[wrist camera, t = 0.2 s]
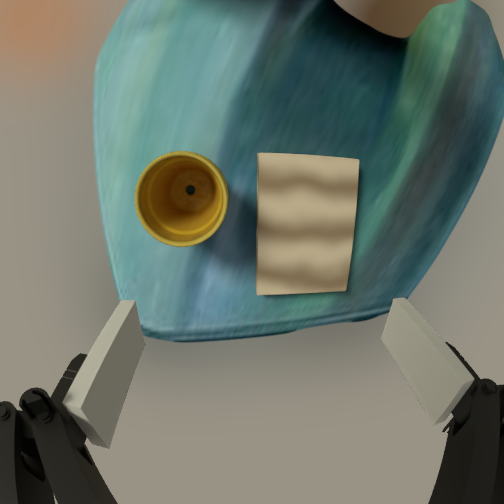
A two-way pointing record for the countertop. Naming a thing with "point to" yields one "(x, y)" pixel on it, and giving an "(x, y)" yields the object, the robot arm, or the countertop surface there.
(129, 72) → the countertop surface
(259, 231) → the birch stand
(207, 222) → the plant pot
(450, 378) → the robot arm
